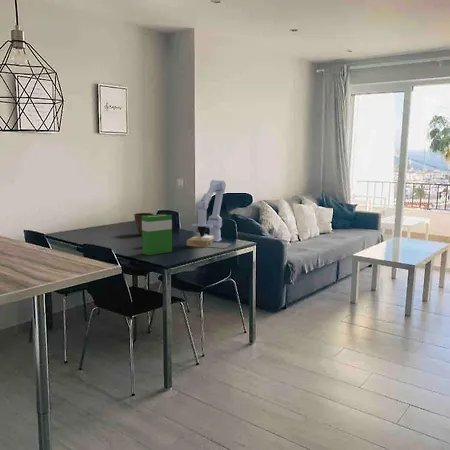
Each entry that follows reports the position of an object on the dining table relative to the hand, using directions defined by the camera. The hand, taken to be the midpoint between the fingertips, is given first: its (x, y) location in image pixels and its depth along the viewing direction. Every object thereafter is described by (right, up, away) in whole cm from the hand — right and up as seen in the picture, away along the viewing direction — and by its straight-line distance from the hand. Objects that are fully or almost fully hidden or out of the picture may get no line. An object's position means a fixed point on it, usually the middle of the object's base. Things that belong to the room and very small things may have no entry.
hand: (202, 237), depth 331 cm
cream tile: (+4, 0, -1) cm, 4 cm away
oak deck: (-1, -5, +1) cm, 5 cm away
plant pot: (-47, +1, +37) cm, 60 cm away
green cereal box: (-28, -9, -26) cm, 39 cm away
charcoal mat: (+12, -6, -3) cm, 13 cm away
